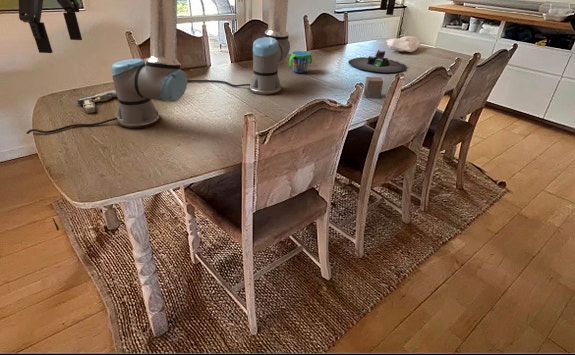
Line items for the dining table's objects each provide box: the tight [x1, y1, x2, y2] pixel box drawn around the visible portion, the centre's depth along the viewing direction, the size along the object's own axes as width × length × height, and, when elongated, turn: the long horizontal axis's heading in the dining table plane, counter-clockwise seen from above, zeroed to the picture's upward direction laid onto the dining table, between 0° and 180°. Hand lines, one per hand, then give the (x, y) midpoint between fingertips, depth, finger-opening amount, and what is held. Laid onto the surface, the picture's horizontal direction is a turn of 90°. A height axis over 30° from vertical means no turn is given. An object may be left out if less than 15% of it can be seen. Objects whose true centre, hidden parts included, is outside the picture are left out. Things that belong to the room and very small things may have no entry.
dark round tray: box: [347, 49, 407, 74], centre depth 221 cm, size 35×35×9 cm
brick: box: [363, 76, 384, 99], centre depth 174 cm, size 6×7×8 cm
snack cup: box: [288, 50, 313, 74], centre depth 203 cm, size 16×10×10 cm
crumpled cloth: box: [385, 35, 422, 53], centre depth 256 cm, size 24×35×9 cm
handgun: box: [76, 89, 118, 114], centre depth 155 cm, size 3×18×15 cm
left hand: (62, 45), depth 90 cm, fingers open, 13 cm apart
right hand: (386, 12), depth 156 cm, fingers open, 13 cm apart
